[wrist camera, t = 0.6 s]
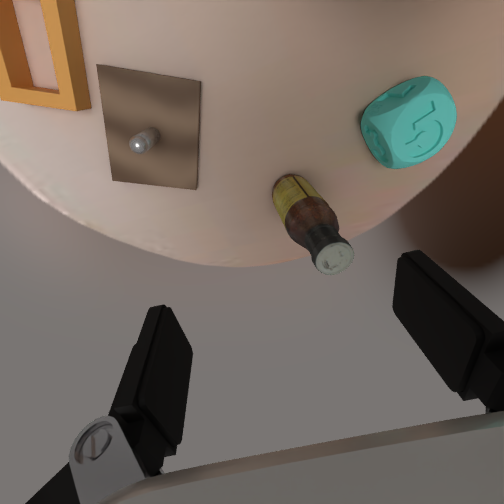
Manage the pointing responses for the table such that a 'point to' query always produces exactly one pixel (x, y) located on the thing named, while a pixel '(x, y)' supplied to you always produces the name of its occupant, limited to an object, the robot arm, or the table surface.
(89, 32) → the table surface
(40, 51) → the table surface
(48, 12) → the link
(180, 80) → the plate
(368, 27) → the table surface
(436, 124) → the decorative dice
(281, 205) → the sauce bottle
